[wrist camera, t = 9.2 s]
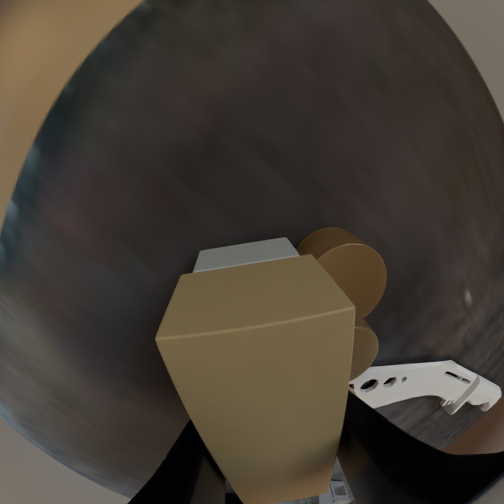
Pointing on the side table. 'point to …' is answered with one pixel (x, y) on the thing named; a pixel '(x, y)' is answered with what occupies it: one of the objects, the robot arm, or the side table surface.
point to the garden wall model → (326, 496)
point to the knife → (427, 385)
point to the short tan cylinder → (363, 349)
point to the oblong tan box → (262, 365)
